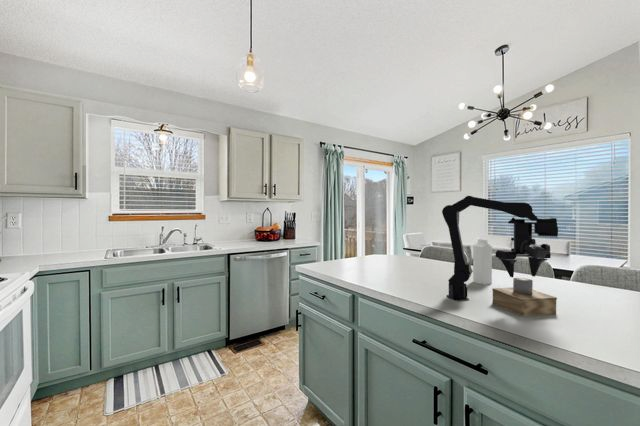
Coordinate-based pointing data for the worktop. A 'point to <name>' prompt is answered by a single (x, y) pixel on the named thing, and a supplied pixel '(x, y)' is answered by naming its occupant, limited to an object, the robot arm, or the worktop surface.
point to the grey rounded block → (523, 286)
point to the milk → (482, 262)
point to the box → (524, 305)
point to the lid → (534, 297)
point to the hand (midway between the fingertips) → (522, 276)
